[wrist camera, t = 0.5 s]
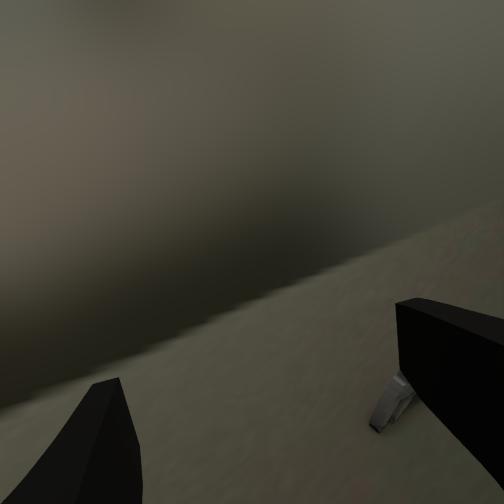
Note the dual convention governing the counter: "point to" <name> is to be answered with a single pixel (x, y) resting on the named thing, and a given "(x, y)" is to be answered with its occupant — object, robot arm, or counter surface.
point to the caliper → (392, 401)
